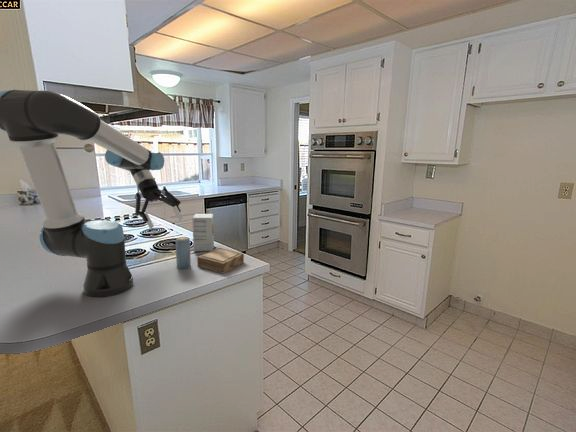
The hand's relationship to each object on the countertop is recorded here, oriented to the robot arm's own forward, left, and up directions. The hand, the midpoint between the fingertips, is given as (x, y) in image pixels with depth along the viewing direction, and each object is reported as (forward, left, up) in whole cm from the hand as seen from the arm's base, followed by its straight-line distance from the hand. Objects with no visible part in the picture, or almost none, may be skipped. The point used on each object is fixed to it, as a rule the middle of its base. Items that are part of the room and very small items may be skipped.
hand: (167, 223), depth 130 cm
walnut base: (+8, -23, -17) cm, 29 cm away
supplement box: (+19, -3, -17) cm, 26 cm away
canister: (-3, -12, -17) cm, 21 cm away
